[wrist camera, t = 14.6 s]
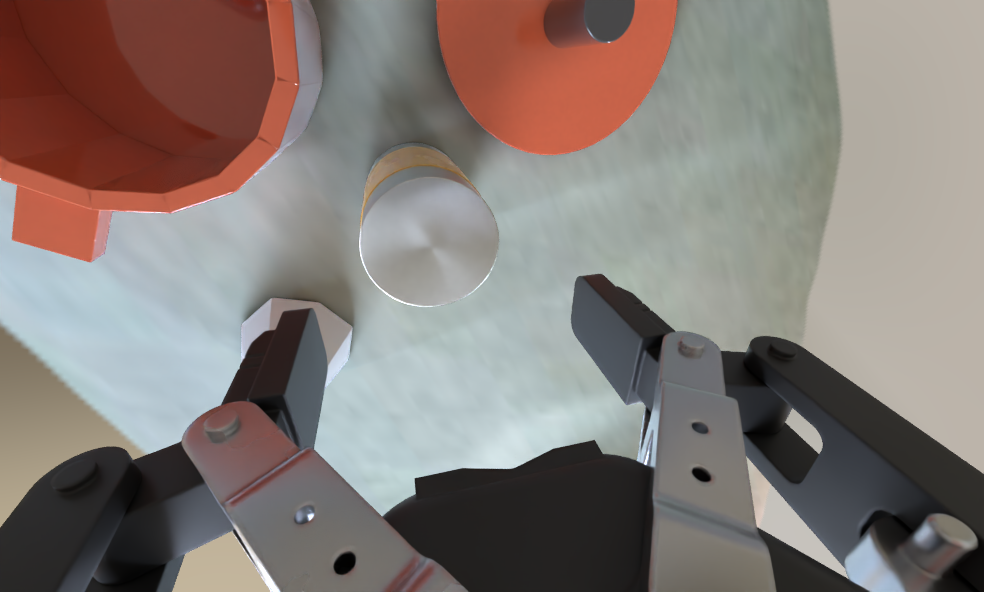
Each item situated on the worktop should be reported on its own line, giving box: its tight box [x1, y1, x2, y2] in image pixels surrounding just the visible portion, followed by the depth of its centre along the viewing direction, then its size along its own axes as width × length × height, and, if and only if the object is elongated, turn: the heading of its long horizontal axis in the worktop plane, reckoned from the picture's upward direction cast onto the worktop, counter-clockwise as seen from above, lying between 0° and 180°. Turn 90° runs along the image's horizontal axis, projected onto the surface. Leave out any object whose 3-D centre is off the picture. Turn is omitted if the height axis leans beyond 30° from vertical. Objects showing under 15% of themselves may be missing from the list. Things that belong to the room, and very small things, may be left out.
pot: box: [0, 0, 323, 262], centre depth 15 cm, size 13×18×8 cm
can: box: [359, 143, 499, 307], centre depth 21 cm, size 6×6×9 cm
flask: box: [241, 298, 353, 390], centre depth 23 cm, size 7×7×10 cm
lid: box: [436, 0, 678, 155], centre depth 19 cm, size 14×14×6 cm
